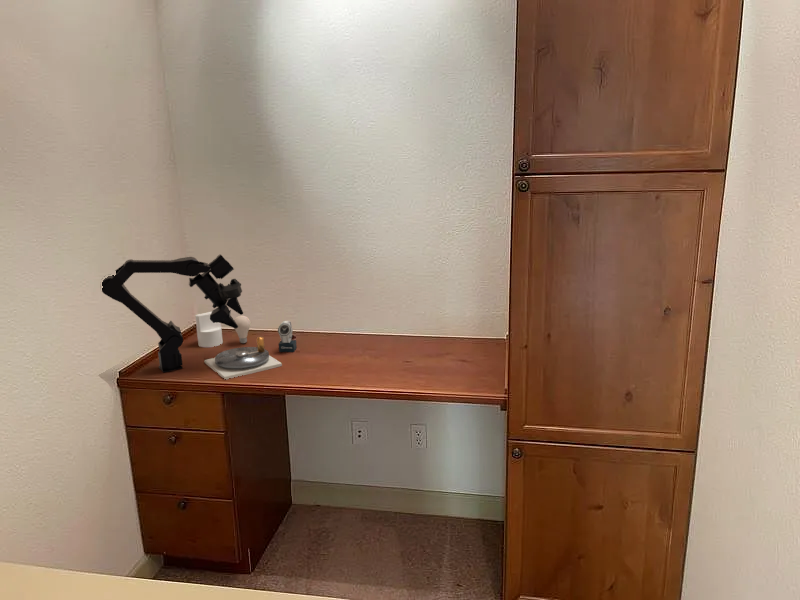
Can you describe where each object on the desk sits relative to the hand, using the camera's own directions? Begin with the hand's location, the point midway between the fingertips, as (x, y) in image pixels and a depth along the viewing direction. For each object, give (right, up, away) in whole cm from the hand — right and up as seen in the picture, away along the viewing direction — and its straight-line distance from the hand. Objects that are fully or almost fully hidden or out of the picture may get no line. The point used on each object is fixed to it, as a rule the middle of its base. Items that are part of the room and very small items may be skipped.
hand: (239, 320), depth 213 cm
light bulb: (-3, -10, +18) cm, 21 cm away
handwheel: (+2, -13, -5) cm, 14 cm away
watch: (+15, -11, +10) cm, 21 cm away
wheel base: (+2, -15, -4) cm, 16 cm away
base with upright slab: (-16, -10, +19) cm, 27 cm away
